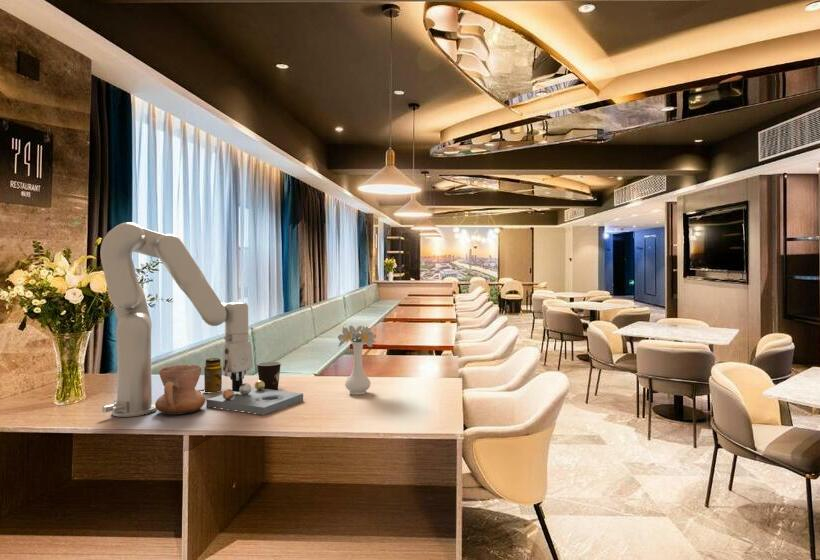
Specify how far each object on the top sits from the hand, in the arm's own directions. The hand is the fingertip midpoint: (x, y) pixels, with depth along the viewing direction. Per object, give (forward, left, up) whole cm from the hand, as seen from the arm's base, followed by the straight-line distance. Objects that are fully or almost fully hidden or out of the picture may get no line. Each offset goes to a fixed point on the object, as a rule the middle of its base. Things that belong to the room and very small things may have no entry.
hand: (237, 391), depth 174 cm
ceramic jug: (-18, +7, -4) cm, 20 cm away
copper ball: (-8, -3, +1) cm, 8 cm away
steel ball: (0, -4, +1) cm, 4 cm away
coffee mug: (+19, +1, -4) cm, 19 cm away
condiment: (+7, +20, -4) cm, 21 cm away
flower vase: (+28, -31, -4) cm, 42 cm away
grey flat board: (0, -8, -4) cm, 9 cm away
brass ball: (+7, -3, +1) cm, 8 cm away
